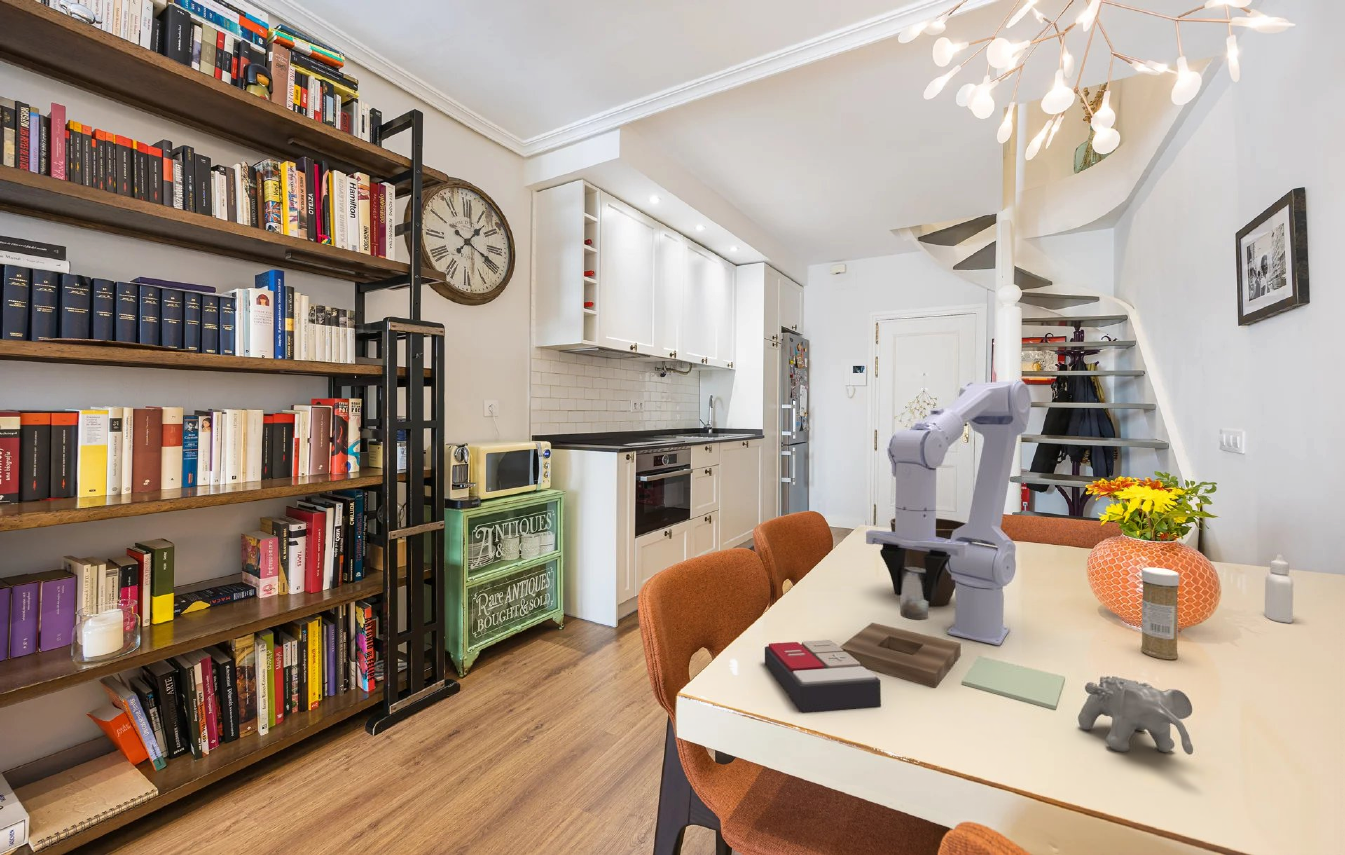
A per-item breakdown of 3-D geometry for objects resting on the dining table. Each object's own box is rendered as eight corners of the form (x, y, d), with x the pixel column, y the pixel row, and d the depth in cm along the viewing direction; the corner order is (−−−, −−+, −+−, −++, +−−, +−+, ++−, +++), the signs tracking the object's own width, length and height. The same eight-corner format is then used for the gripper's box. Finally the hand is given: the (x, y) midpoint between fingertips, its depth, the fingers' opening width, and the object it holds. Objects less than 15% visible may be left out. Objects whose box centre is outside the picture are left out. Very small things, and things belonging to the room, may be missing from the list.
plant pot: (874, 592, 123) (875, 518, 122) (931, 587, 127) (932, 515, 127) (924, 616, 108) (925, 531, 108) (987, 608, 113) (988, 527, 113)
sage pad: (979, 659, 89) (979, 655, 89) (1064, 680, 82) (1064, 676, 82) (961, 684, 80) (961, 680, 80) (1055, 710, 73) (1055, 706, 73)
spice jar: (1182, 656, 90) (1183, 571, 90) (1171, 663, 88) (1173, 575, 88) (1146, 646, 94) (1147, 565, 94) (1135, 652, 92) (1137, 568, 92)
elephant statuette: (1119, 721, 72) (1116, 658, 72) (1239, 772, 60) (1234, 697, 61) (1064, 734, 69) (1061, 669, 69) (1179, 790, 57) (1175, 712, 58)
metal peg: (905, 609, 91) (905, 565, 91) (931, 615, 88) (932, 570, 88) (896, 616, 88) (896, 570, 88) (923, 622, 85) (924, 575, 85)
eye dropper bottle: (1300, 620, 107) (1302, 556, 107) (1289, 624, 105) (1290, 559, 105) (1268, 612, 111) (1269, 551, 111) (1256, 617, 109) (1257, 554, 109)
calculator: (832, 637, 89) (881, 674, 74) (832, 665, 89) (882, 708, 74) (763, 641, 87) (800, 680, 72) (763, 669, 87) (801, 715, 72)
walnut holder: (872, 634, 99) (872, 622, 99) (960, 655, 90) (960, 643, 90) (838, 660, 88) (838, 647, 88) (935, 687, 79) (935, 673, 79)
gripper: (858, 506, 89) (858, 593, 90) (960, 517, 80) (959, 614, 80) (875, 501, 95) (874, 583, 95) (972, 510, 86) (971, 601, 86)
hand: (914, 596), depth 88 cm, fingers closed on metal peg, 4 cm apart
